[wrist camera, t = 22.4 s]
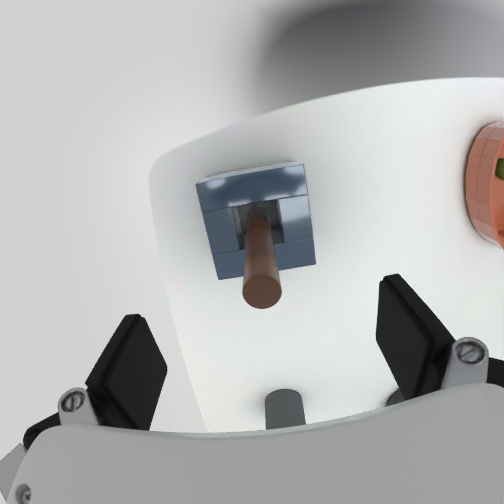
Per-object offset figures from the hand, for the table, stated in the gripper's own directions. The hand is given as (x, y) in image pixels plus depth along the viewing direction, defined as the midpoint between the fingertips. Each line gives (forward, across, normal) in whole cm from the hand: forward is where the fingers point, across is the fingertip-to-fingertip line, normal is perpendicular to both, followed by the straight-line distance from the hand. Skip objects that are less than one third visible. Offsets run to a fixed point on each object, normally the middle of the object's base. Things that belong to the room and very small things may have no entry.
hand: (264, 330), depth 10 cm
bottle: (+20, +1, +30) cm, 36 cm away
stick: (+20, 0, +1) cm, 20 cm away
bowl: (+20, -35, +1) cm, 40 cm away
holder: (+20, 0, 0) cm, 20 cm away
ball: (+18, -33, -2) cm, 38 cm away
